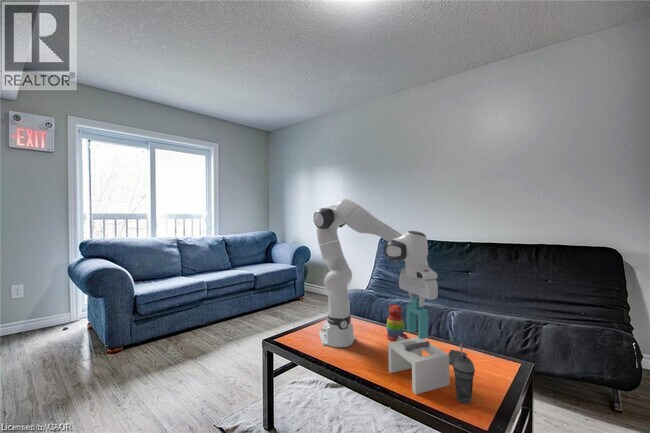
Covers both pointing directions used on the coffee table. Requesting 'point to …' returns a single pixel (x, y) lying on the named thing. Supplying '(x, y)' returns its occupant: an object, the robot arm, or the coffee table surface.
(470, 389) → the beverage cup
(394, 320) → the stacking bear
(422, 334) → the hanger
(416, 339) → the shelf
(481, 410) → the coffee table surface
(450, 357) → the smartphone
